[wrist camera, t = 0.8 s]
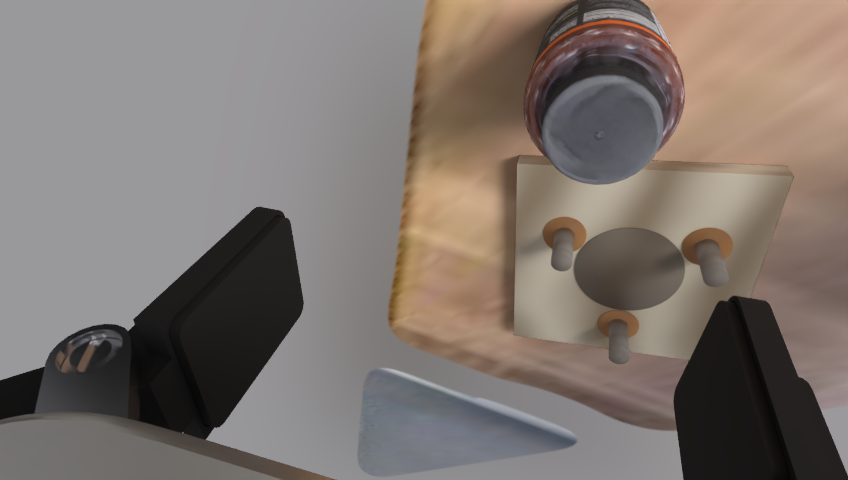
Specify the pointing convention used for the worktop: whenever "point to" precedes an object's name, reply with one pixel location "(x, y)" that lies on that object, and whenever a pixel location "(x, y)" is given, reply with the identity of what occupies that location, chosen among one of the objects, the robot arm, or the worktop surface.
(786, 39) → the worktop surface
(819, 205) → the worktop surface
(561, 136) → the supplement bottle
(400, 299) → the worktop surface
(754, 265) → the pin board
